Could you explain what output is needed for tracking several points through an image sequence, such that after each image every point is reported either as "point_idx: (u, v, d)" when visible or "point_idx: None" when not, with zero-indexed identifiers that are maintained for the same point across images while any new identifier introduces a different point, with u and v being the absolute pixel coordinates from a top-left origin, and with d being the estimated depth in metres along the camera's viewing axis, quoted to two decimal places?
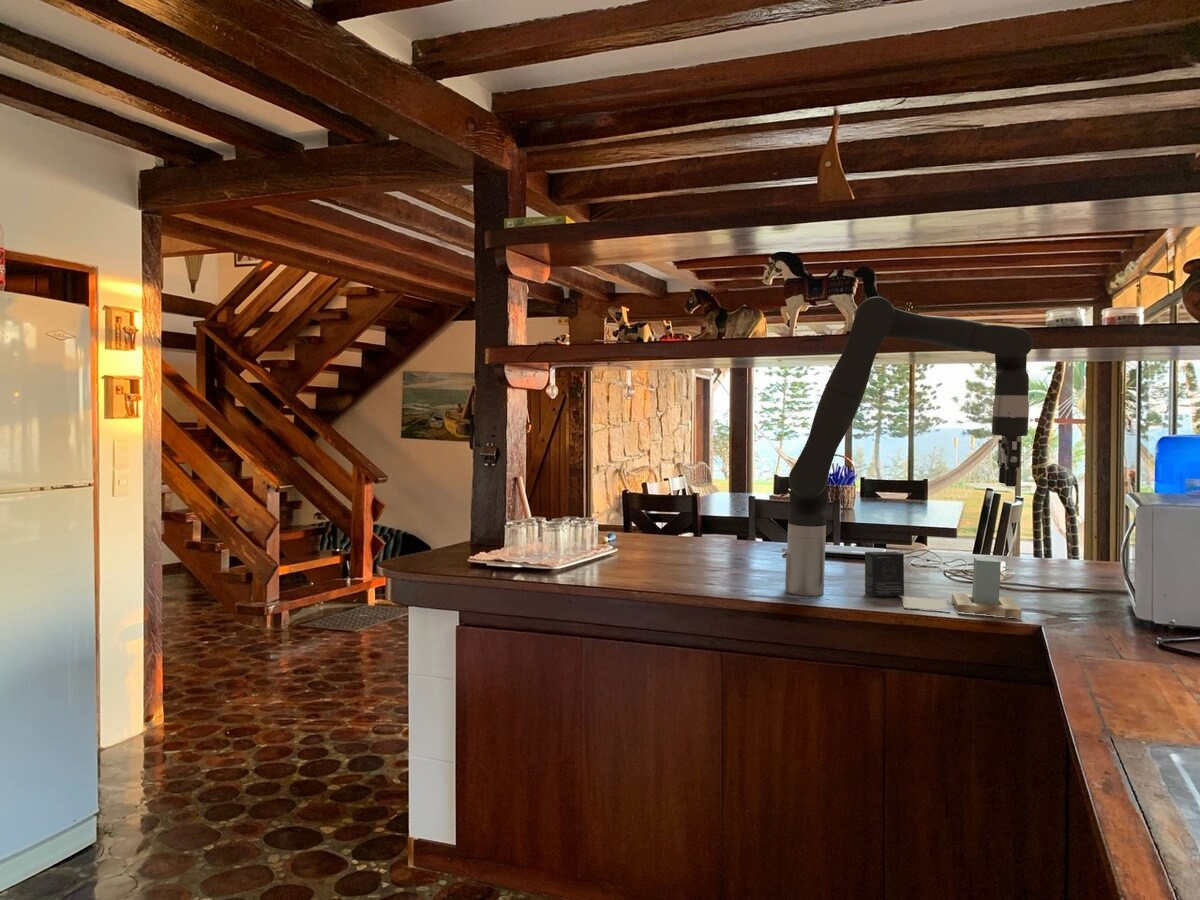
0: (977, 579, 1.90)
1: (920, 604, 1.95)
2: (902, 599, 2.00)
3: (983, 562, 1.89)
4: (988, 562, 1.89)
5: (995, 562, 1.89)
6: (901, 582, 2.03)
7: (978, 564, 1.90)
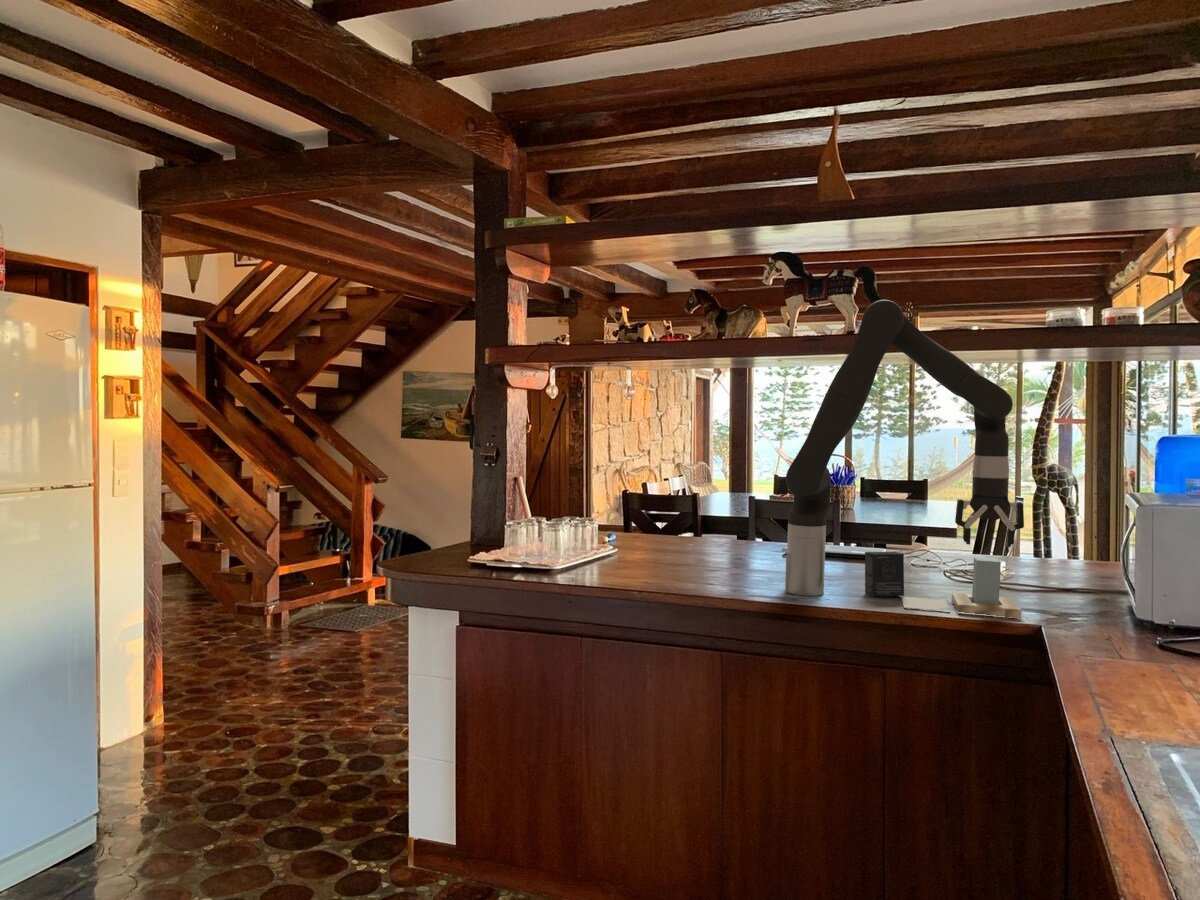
0: (977, 579, 1.90)
1: (920, 604, 1.95)
2: (902, 599, 2.00)
3: (983, 562, 1.89)
4: (988, 562, 1.89)
5: (995, 562, 1.89)
6: (901, 582, 2.03)
7: (978, 564, 1.90)
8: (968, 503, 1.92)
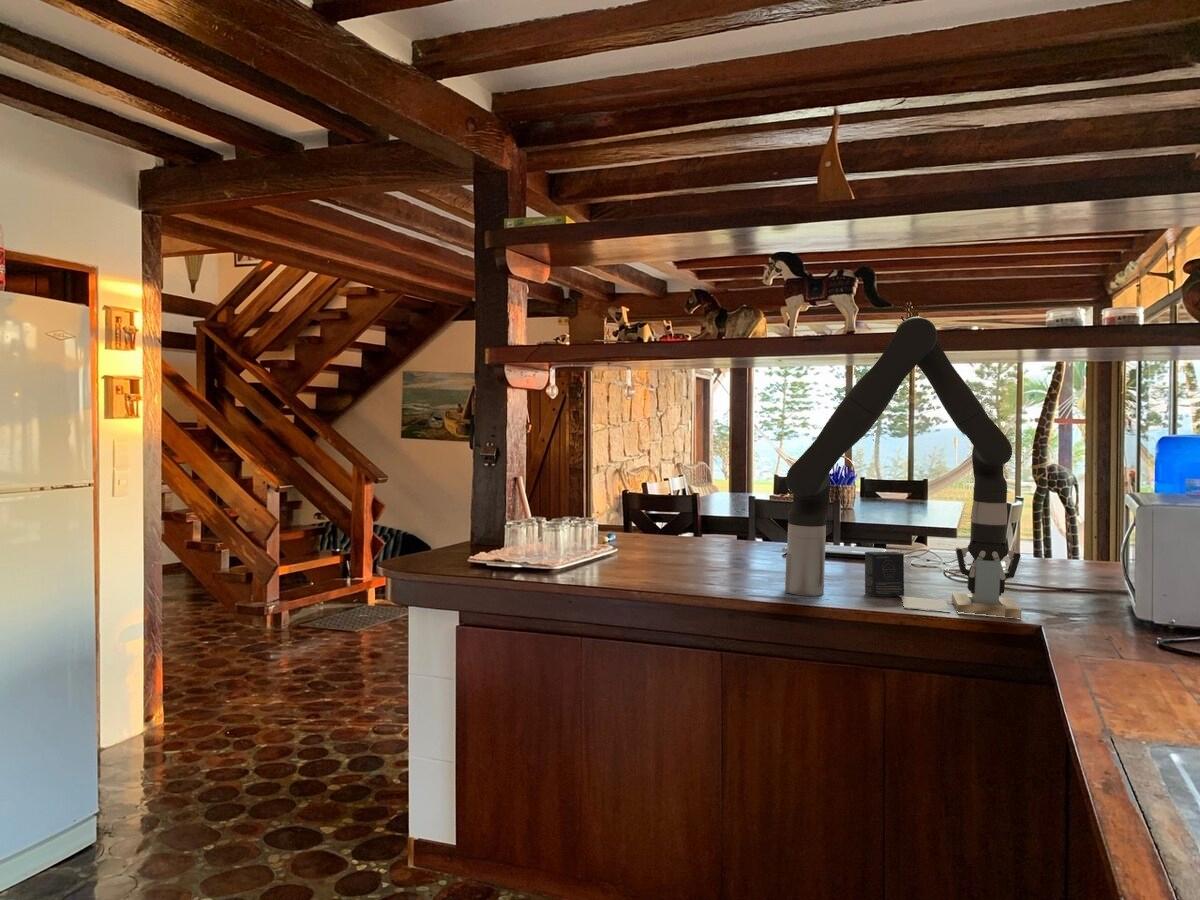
0: (977, 579, 1.90)
1: (920, 604, 1.95)
2: (902, 599, 2.00)
3: (983, 562, 1.89)
4: (988, 562, 1.89)
5: (995, 562, 1.89)
6: (901, 582, 2.03)
7: (978, 564, 1.90)
8: (966, 550, 1.92)
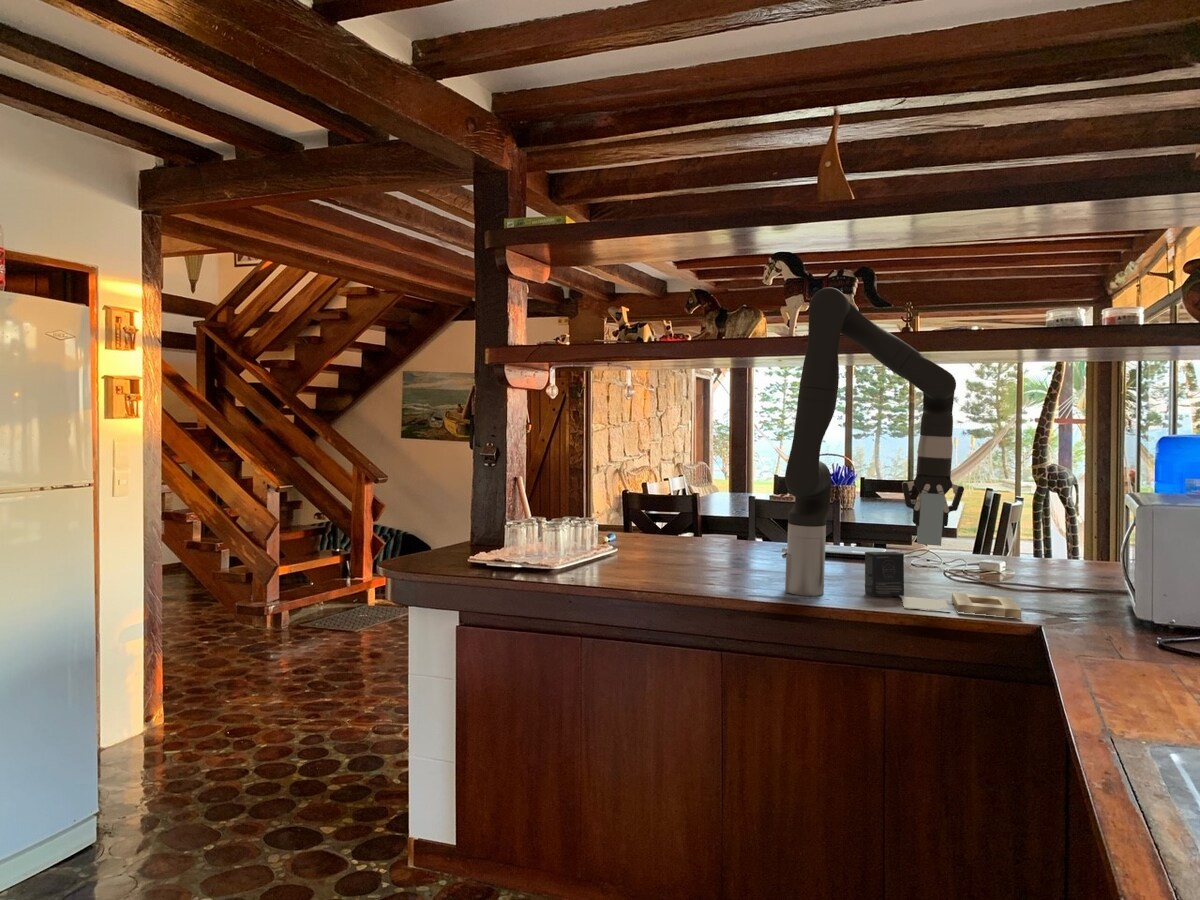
0: (921, 512, 1.93)
1: (920, 604, 1.95)
2: (902, 599, 2.00)
3: (927, 495, 1.93)
4: (932, 495, 1.92)
5: (939, 495, 1.92)
6: (901, 582, 2.03)
7: (923, 497, 1.93)
8: (912, 484, 1.95)
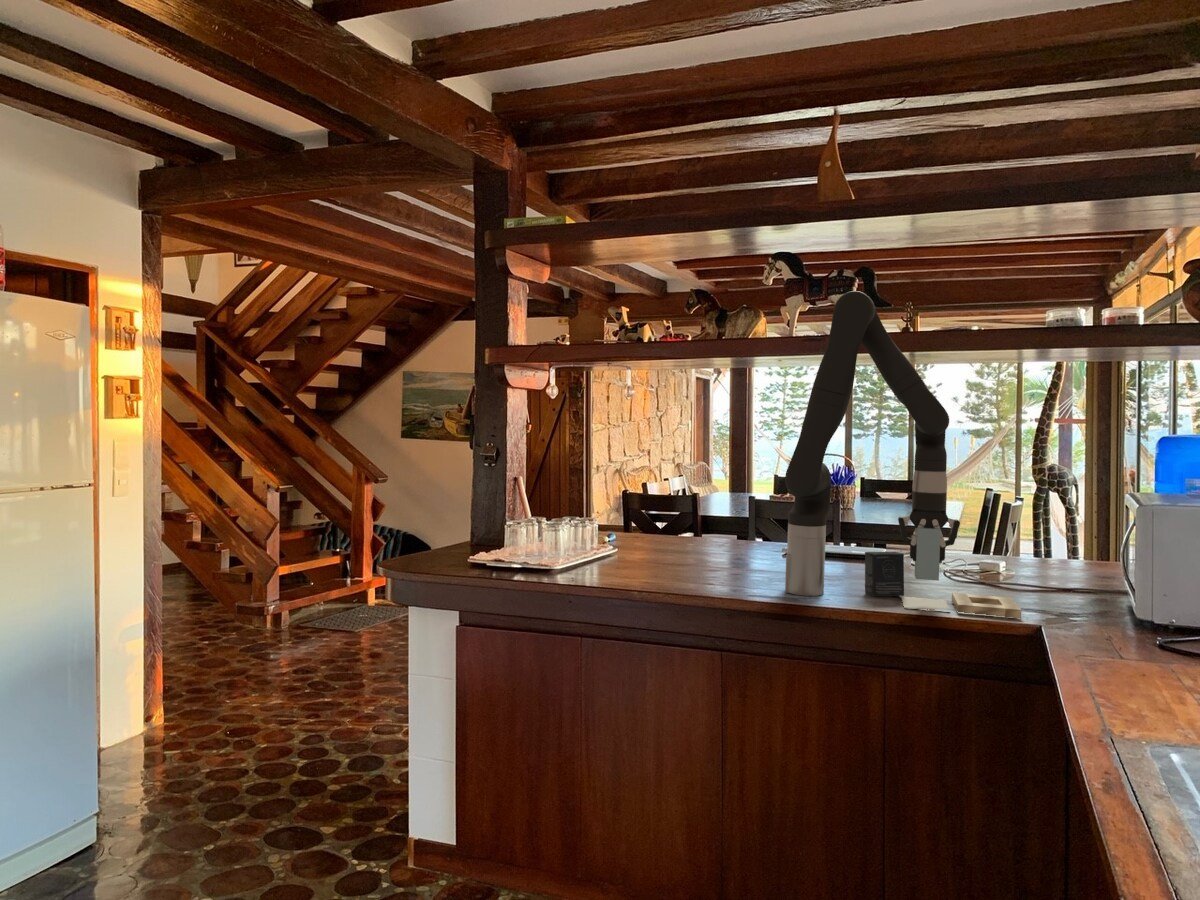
0: (918, 546, 1.93)
1: (920, 604, 1.95)
2: (902, 599, 2.00)
3: (923, 530, 1.93)
4: (928, 530, 1.92)
5: (935, 529, 1.92)
6: (901, 582, 2.03)
7: (919, 532, 1.93)
8: (908, 519, 1.96)
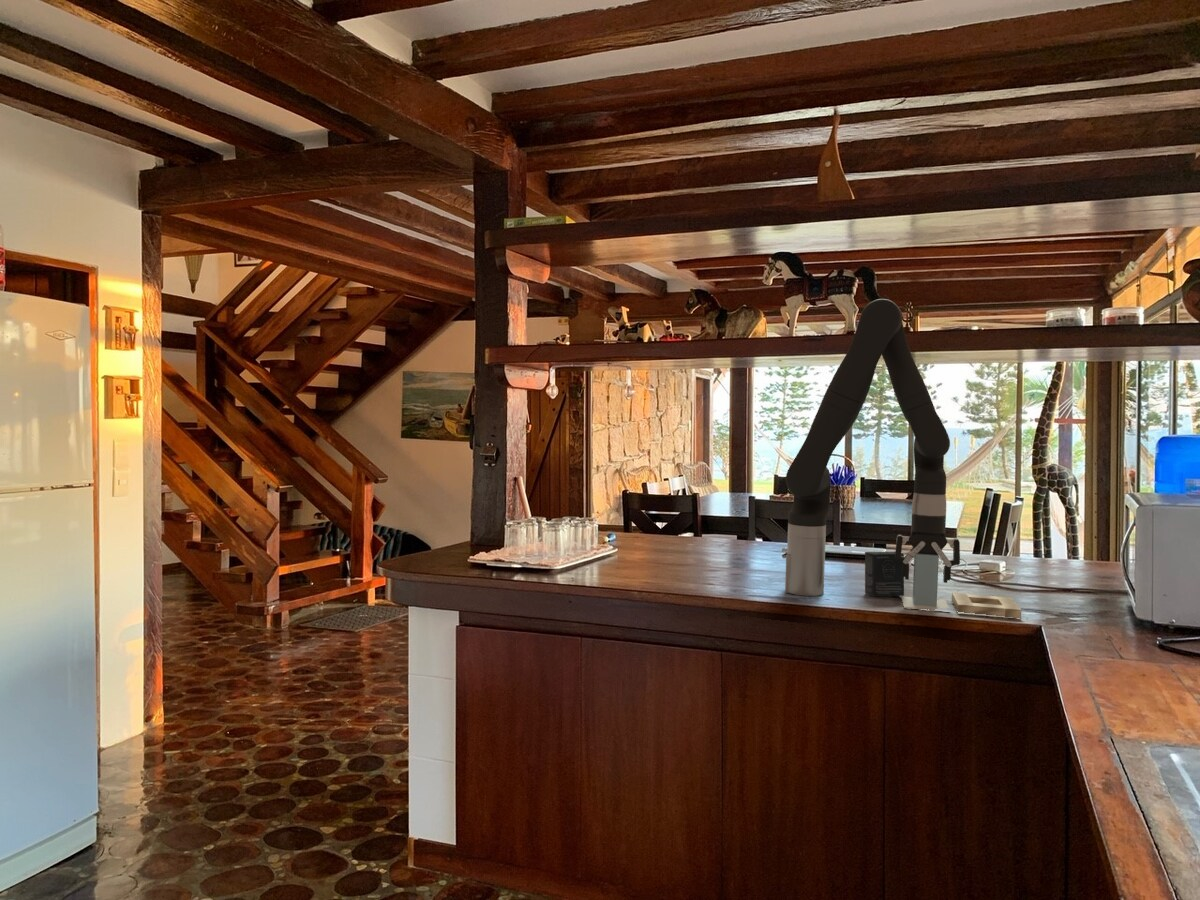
0: (916, 573, 1.94)
1: None
2: (902, 599, 2.00)
3: (922, 556, 1.93)
4: (927, 556, 1.93)
5: (933, 556, 1.93)
6: (901, 582, 2.03)
7: (917, 558, 1.94)
8: (907, 539, 1.96)
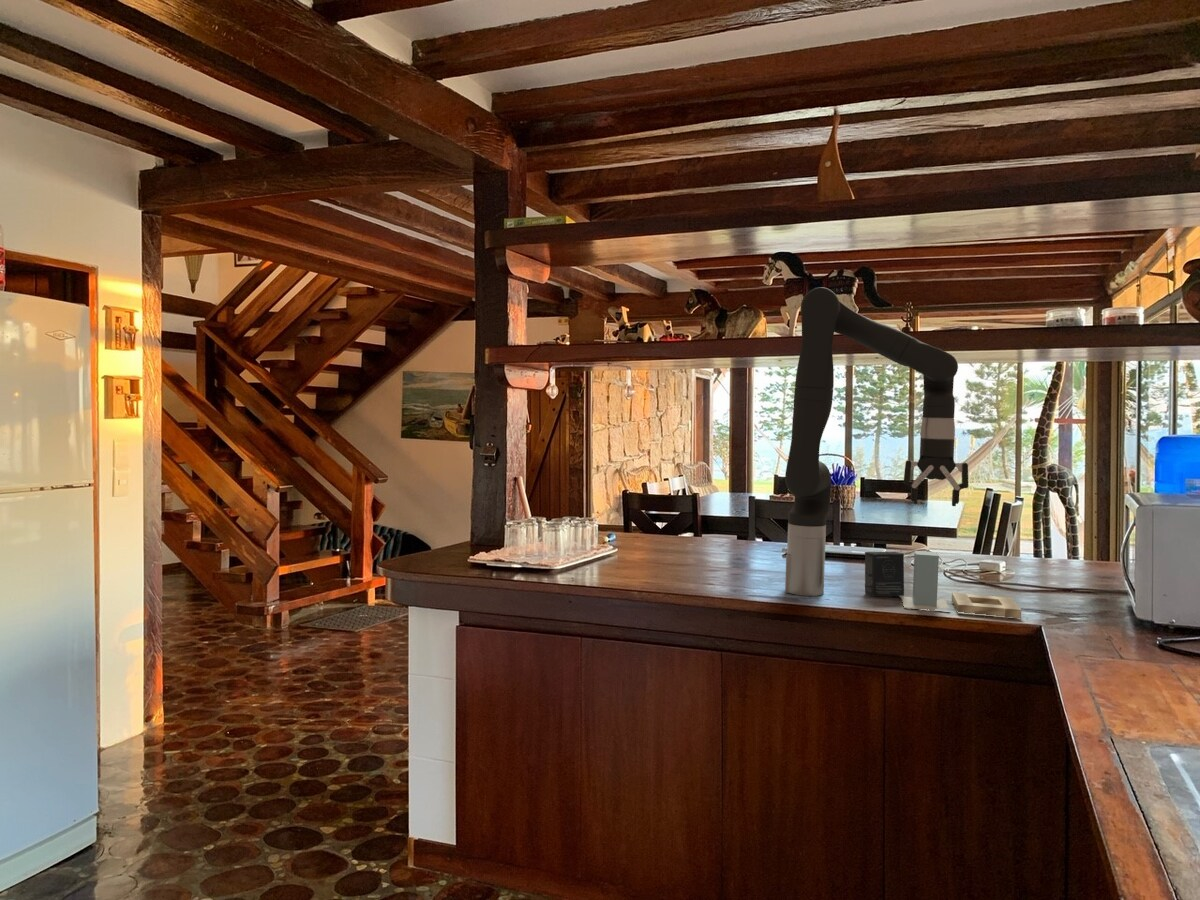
0: (916, 573, 1.94)
1: None
2: (902, 599, 2.00)
3: (922, 556, 1.93)
4: (927, 556, 1.93)
5: (933, 556, 1.93)
6: (901, 582, 2.03)
7: (917, 558, 1.94)
8: (915, 464, 1.98)
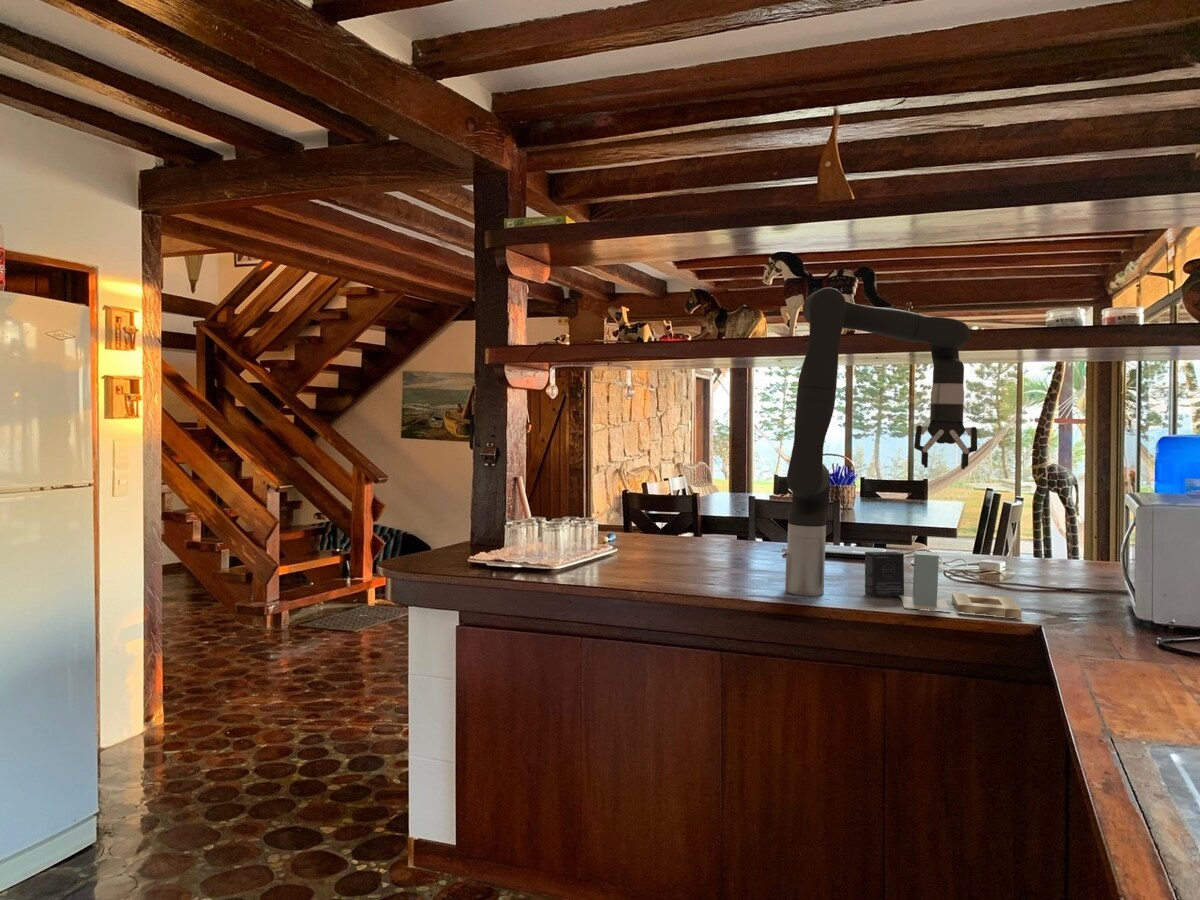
0: (916, 573, 1.94)
1: None
2: (902, 599, 2.00)
3: (922, 556, 1.93)
4: (927, 556, 1.93)
5: (933, 556, 1.93)
6: (901, 582, 2.03)
7: (917, 558, 1.94)
8: (926, 429, 2.04)
